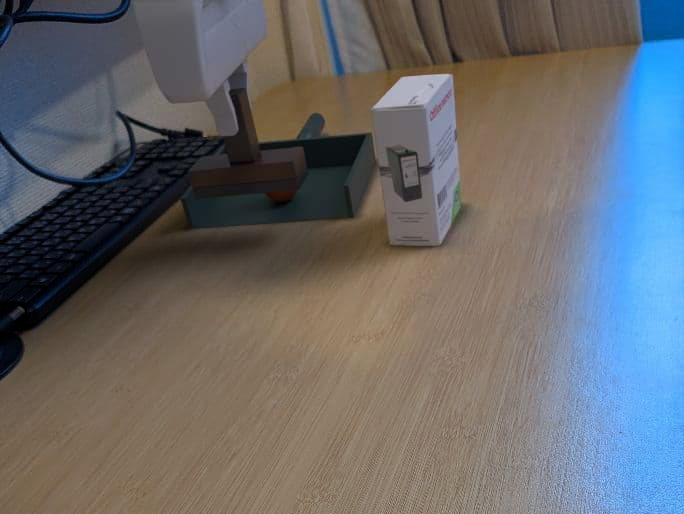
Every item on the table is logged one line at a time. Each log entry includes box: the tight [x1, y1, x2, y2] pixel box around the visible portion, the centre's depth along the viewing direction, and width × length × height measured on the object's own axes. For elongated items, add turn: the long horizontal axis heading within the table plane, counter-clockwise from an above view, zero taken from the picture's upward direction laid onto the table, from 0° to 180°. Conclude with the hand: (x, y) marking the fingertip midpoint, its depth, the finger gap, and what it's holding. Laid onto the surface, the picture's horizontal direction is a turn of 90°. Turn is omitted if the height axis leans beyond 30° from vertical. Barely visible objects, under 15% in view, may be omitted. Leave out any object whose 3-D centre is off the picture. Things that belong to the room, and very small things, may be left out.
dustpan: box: [180, 112, 377, 230], centre depth 89 cm, size 26×17×3 cm, turn 171°
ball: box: [264, 190, 298, 202], centre depth 84 cm, size 4×4×4 cm
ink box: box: [370, 73, 462, 247], centre depth 72 cm, size 9×5×12 cm, turn 161°
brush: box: [187, 88, 308, 199], centre depth 74 cm, size 10×4×8 cm, turn 82°
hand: (236, 125), depth 73 cm, fingers closed on brush, 2 cm apart
